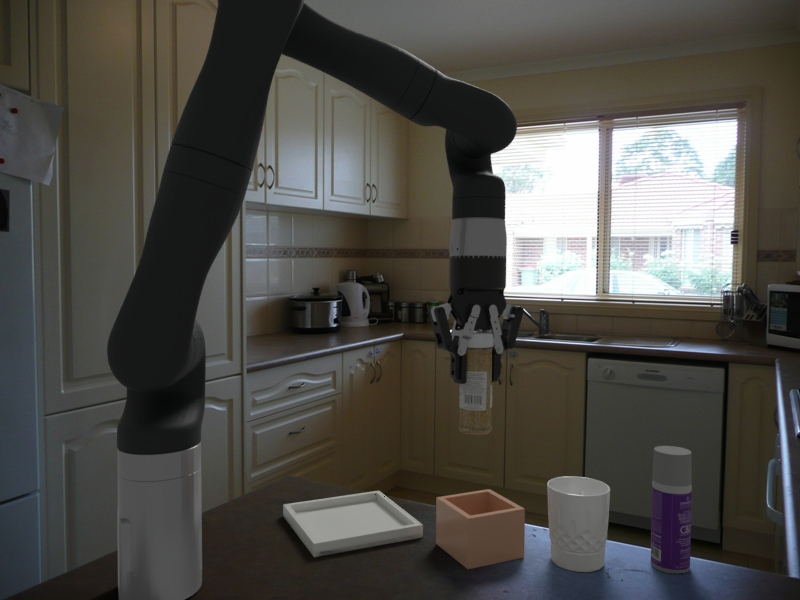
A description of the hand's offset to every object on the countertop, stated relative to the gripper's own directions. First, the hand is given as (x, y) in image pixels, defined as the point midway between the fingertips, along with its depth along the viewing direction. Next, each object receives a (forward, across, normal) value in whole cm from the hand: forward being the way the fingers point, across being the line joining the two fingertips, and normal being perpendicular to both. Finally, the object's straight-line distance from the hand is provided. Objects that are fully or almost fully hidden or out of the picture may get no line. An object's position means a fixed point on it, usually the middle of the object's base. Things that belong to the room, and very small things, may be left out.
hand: (475, 381), depth 87 cm
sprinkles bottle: (+7, 0, 0) cm, 7 cm away
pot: (+23, +1, 0) cm, 23 cm away
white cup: (+23, +11, -8) cm, 27 cm away
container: (+23, +21, -14) cm, 34 cm away
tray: (+23, -12, +15) cm, 30 cm away
